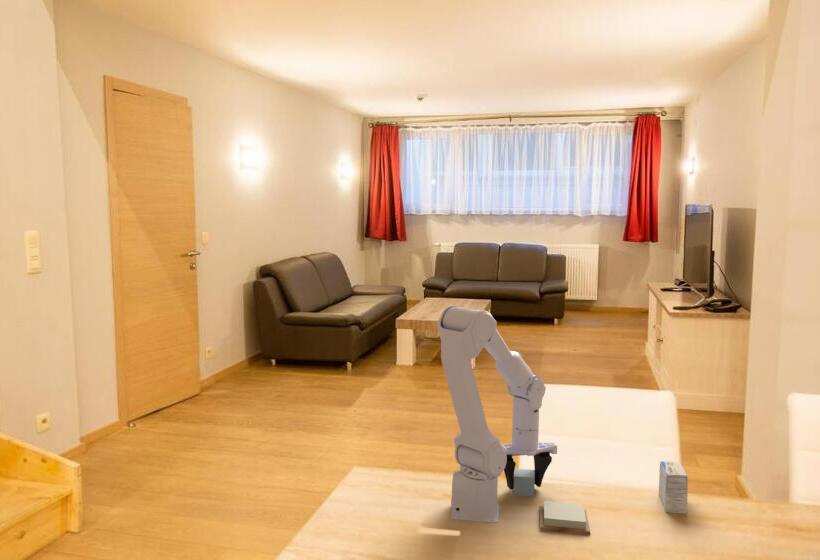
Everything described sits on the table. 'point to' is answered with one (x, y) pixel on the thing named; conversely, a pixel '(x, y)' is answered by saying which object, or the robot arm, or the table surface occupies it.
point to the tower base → (562, 529)
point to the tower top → (564, 515)
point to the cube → (524, 482)
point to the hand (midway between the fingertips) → (523, 486)
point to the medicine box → (673, 487)
